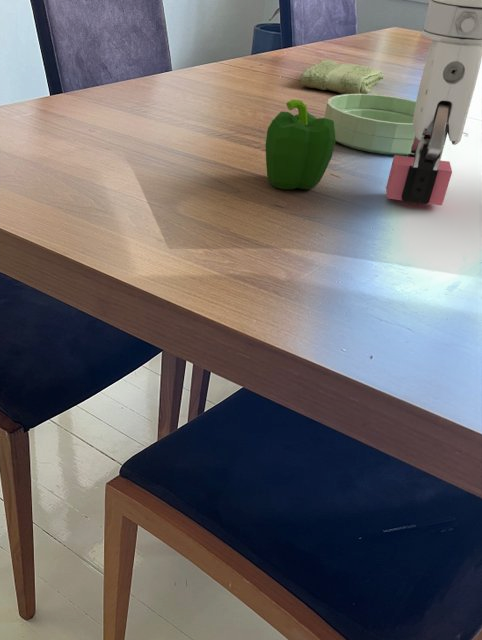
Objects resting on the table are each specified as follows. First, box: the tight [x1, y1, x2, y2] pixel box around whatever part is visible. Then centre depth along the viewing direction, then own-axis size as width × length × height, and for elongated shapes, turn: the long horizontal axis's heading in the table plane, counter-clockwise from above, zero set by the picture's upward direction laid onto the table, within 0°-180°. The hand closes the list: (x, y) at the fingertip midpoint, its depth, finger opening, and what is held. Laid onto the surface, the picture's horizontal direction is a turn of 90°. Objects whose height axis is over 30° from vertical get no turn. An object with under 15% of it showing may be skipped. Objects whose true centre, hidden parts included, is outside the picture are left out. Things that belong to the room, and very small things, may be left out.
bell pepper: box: [264, 99, 337, 190], centre depth 88 cm, size 8×8×10 cm
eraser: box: [385, 155, 453, 206], centre depth 88 cm, size 6×4×4 cm, turn 76°
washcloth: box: [300, 59, 384, 95], centre depth 138 cm, size 13×18×3 cm
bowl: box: [323, 93, 416, 156], centre depth 109 cm, size 17×17×4 cm
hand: (414, 193), depth 89 cm, fingers closed on eraser, 4 cm apart
